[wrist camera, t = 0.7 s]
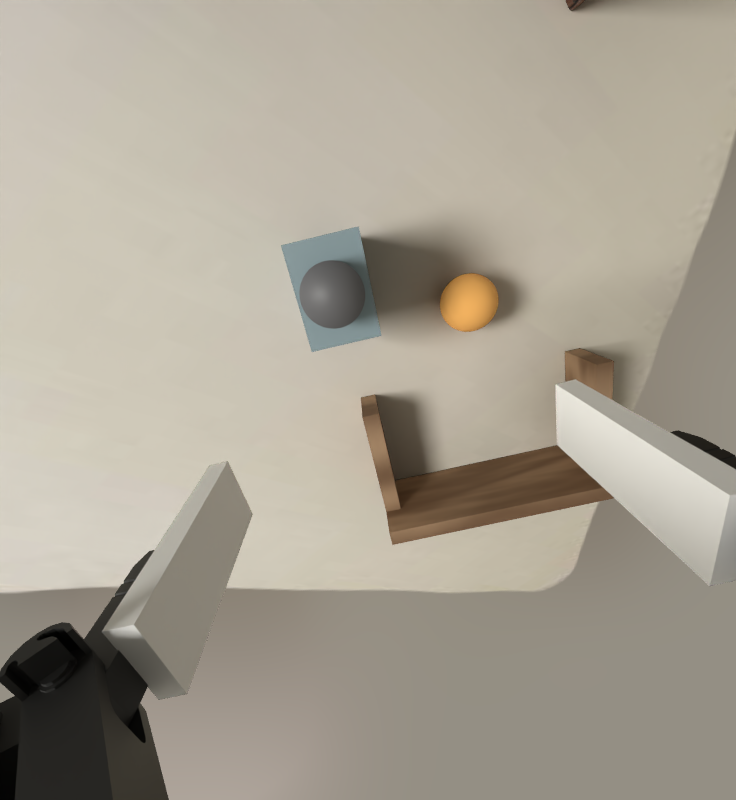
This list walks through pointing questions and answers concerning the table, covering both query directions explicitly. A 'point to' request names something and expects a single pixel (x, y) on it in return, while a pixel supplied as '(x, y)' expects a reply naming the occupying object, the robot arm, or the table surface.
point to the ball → (469, 302)
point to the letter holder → (574, 3)
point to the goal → (487, 476)
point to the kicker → (333, 288)
